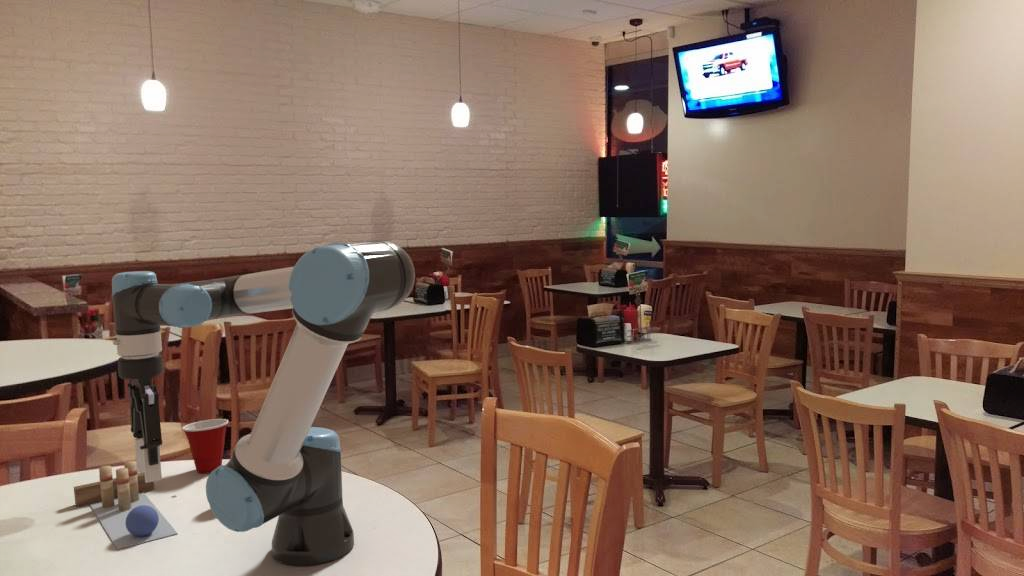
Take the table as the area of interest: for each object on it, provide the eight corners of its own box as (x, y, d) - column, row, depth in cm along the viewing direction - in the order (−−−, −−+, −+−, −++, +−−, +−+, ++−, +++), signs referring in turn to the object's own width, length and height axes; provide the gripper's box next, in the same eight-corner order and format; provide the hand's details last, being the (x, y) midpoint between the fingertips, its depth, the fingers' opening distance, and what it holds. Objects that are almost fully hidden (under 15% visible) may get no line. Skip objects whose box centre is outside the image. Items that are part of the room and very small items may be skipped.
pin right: (140, 501, 174) (137, 462, 174) (128, 504, 173) (125, 464, 172) (138, 498, 176) (135, 459, 175) (125, 501, 175) (122, 462, 174)
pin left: (115, 507, 172) (112, 467, 171) (103, 510, 170) (99, 470, 169) (113, 503, 173) (110, 464, 172) (101, 506, 172) (97, 467, 171)
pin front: (132, 510, 170) (129, 469, 169) (120, 513, 168) (116, 472, 167) (130, 506, 172) (127, 467, 171) (117, 509, 170) (114, 469, 169)
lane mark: (177, 534, 157) (177, 533, 156) (117, 549, 150) (117, 548, 150) (143, 493, 179) (143, 492, 179) (90, 505, 173) (90, 504, 173)
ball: (163, 535, 156) (160, 506, 155) (130, 544, 152) (127, 514, 152) (155, 526, 161) (153, 498, 160) (123, 534, 157) (121, 505, 156)
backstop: (154, 489, 182) (153, 472, 181) (76, 506, 172) (75, 489, 172) (152, 487, 183) (151, 470, 183) (75, 504, 174) (73, 486, 173)
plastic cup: (215, 459, 202) (212, 414, 201) (240, 467, 196) (237, 420, 195) (176, 471, 194) (172, 424, 192) (201, 480, 187) (198, 431, 186)
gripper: (107, 350, 150) (116, 467, 153) (129, 365, 135) (139, 495, 137) (149, 345, 154) (157, 459, 157) (174, 359, 139) (183, 485, 142)
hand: (149, 475), depth 147 cm, fingers open, 6 cm apart
